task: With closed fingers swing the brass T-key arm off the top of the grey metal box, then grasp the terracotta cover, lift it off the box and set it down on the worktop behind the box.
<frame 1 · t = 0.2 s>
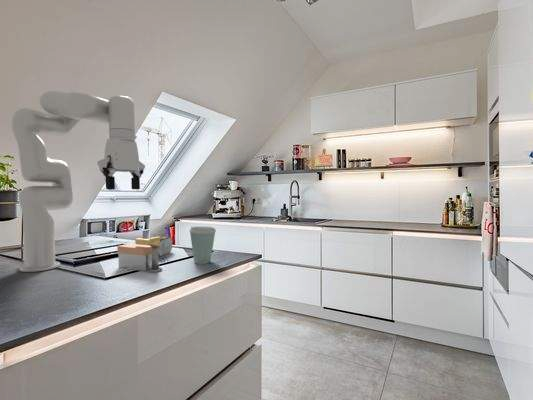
hand: (123, 189, 99), 30 cm above the counter, tool pointing down, fingers open, 9 cm apart
housing: (136, 267, 118), on the counter
cover: (136, 252, 117), point 6 cm above the counter, touching housing
disposable coffee cup: (203, 262, 127), on the counter
tin: (163, 255, 141), on the counter
key: (147, 240, 115), point 11 cm above the counter, hinge at 0.0°
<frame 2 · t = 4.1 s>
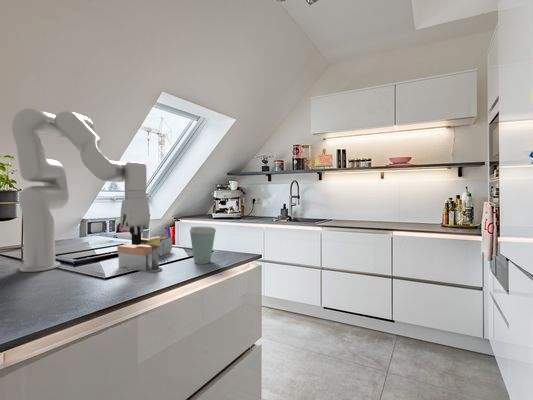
hand: (136, 244, 114), 10 cm above the counter, tool pointing down, fingers closed
key: (148, 240, 115), point 11 cm above the counter, hinge at 3.5°, touching gripper
everything else where it was.
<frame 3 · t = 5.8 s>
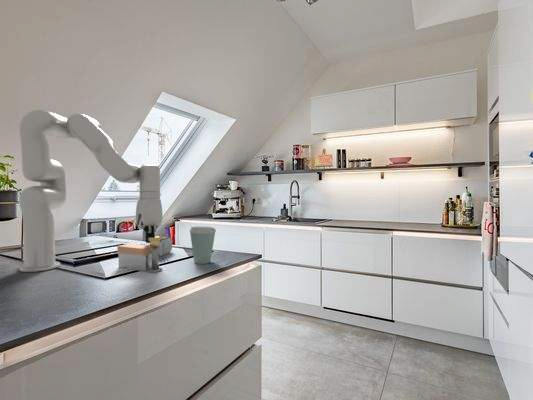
hand: (150, 242, 121), 9 cm above the counter, tool pointing down, fingers closed
key: (156, 239, 117), point 11 cm above the counter, hinge at 52.3°, touching gripper
everything else where it was.
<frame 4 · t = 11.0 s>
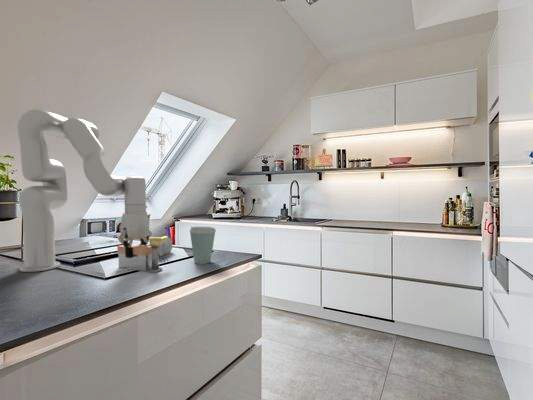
hand: (136, 255, 117), 5 cm above the counter, tool pointing down, fingers closed on cover, 6 cm apart
cover: (136, 252, 117), point 6 cm above the counter, touching gripper, housing
key: (159, 239, 117), point 11 cm above the counter, hinge at 73.9°
everything else where it was.
when the fingers open (2 cm above the counter, at t = 17.1 s): cover drops 3 cm, on the counter.
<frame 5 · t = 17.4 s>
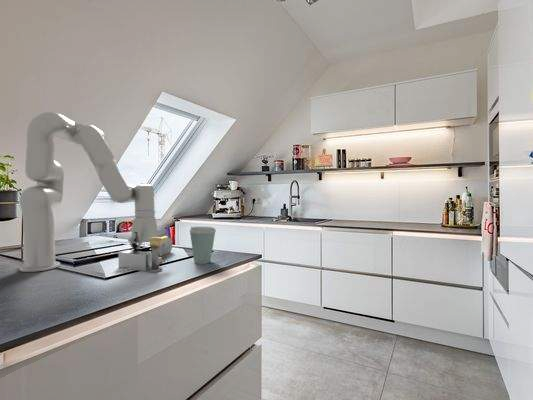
hand: (146, 255, 127), 3 cm above the counter, tool pointing down, fingers open, 8 cm apart
cover: (144, 263, 126), on the counter
everything else where it was.
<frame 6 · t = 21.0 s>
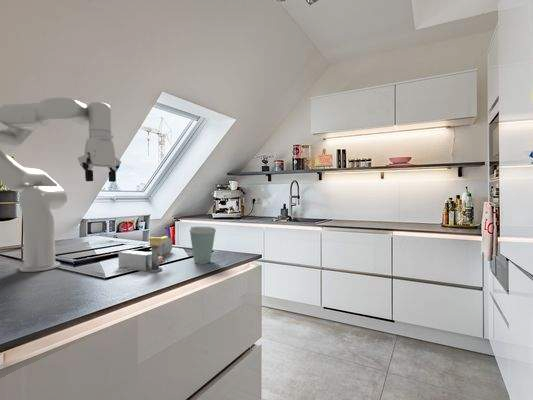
hand: (101, 181, 117), 33 cm above the counter, tool pointing down, fingers open, 9 cm apart
at the end: key at +74° (first picture: +0°); cover inside the target area (0.0 cm from its centre), on the counter; cover tilted 0° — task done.
